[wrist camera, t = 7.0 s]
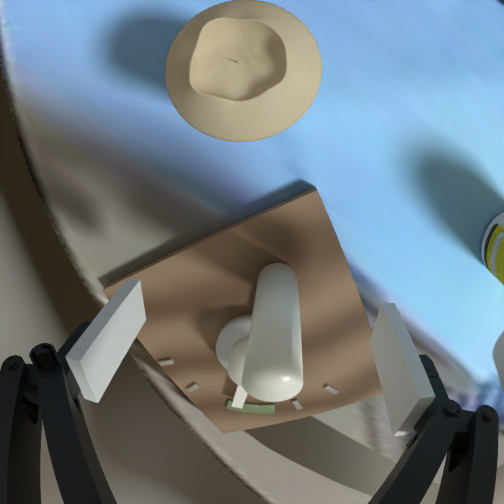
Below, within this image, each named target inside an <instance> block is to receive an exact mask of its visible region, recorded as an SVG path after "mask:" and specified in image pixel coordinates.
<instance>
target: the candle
mask: <svg viewBox="0 0 504 504" xmlns="http://www.w3.org/2000/svg"><path fill="white" fill-rule="evenodd" d="M321 76H322V60H321V55H320V51H319V48H318V45H317V43H316V41H315V39H314V37H313V35H312V33H311V32H310V31H309V29H308V28H307V27H306V26H305V25H304V24H303V23H302V22H301V21H300V20H299V19H298V18H297V17H296V16H294V15H293V14H292V13H290V12H289V11H287V10H285V9H283V8H281V7H279V6H276V5H274V4H271V3H267V2H264V1H257V0H233V1H228V2H224V3H220V4H217V5H214V6H212V7H210V8H208V9H206V10H204V11H202V12H201V13H199V14H197V15H196V16H195V17H193V18H192V19H191V20H190V21H189V22H188V23H187V24H186V25H185V26H184V27H183V28H182V29H181V30H180V32H179V33H178V34H177V36H176V37H175V39H174V41H173V43H172V44H171V47H170V49H169V52H168V55H167V59H166V66H165V81H166V87H167V91H168V94H169V97H170V99H171V101H172V103H173V105H174V107H175V108H176V110H177V111H178V113H179V114H180V115H181V116H182V117H183V118H184V119H185V121H187V122H188V123H189V124H190V125H191V126H193V127H194V128H196V129H197V130H199V131H200V132H202V133H204V134H206V135H209V136H211V137H214V138H217V139H221V140H226V141H234V142H250V141H256V140H261V139H265V138H268V137H271V136H273V135H276V134H278V133H280V132H282V131H284V130H286V129H287V128H289V127H290V126H292V125H293V124H294V123H296V122H297V121H298V120H299V119H300V118H301V117H302V116H303V115H304V114H305V113H306V111H307V110H308V109H309V108H310V106H311V104H312V103H313V101H314V99H315V97H316V95H317V92H318V90H319V86H320V82H321Z"/></svg>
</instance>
